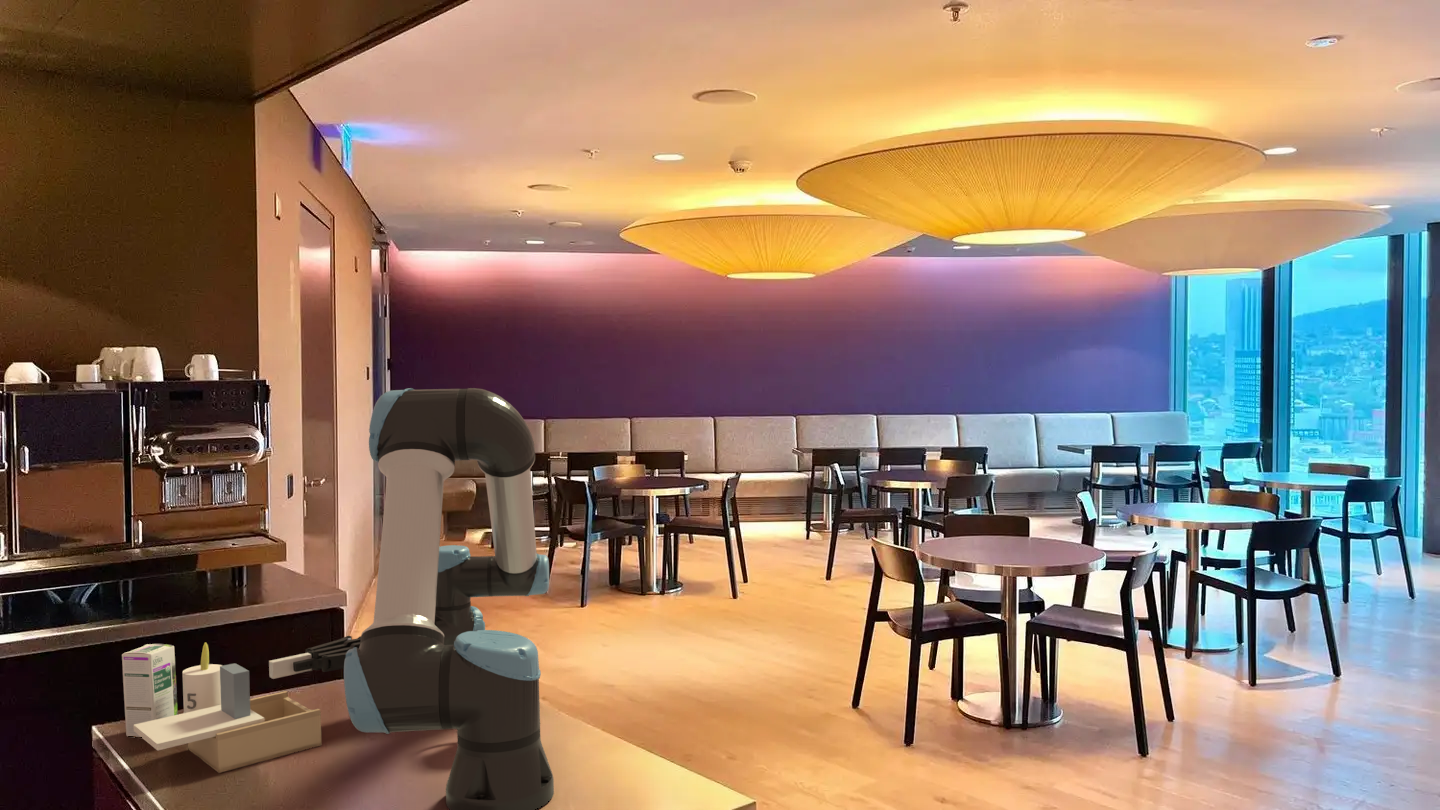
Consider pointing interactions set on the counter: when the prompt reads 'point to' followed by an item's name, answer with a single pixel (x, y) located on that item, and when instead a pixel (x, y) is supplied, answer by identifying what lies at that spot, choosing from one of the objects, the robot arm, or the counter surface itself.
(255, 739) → the box
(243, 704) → the lid
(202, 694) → the candle
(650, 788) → the counter surface
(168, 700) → the syrup box
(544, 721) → the counter surface
